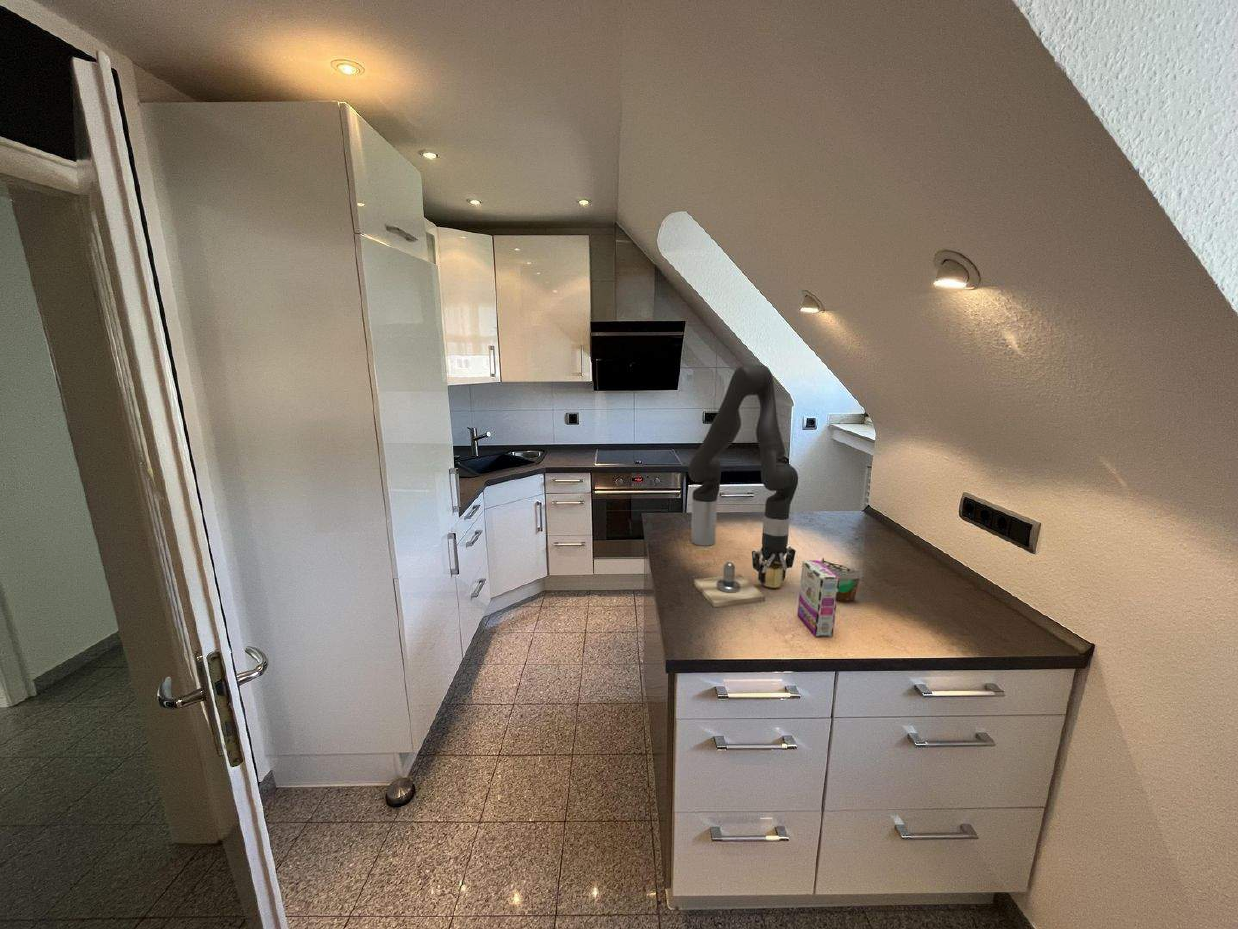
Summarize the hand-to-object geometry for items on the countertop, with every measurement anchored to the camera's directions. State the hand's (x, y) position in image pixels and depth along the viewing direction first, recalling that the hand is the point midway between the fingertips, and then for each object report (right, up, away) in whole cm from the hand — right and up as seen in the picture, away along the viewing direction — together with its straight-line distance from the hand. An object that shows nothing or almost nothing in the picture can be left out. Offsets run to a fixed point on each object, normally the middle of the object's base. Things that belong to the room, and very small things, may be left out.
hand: (771, 581), depth 150 cm
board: (-14, -2, -4) cm, 15 cm away
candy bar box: (+5, -7, -22) cm, 23 cm away
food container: (+16, -3, -7) cm, 18 cm away
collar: (0, -1, 0) cm, 1 cm away
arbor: (-14, -1, -4) cm, 15 cm away
